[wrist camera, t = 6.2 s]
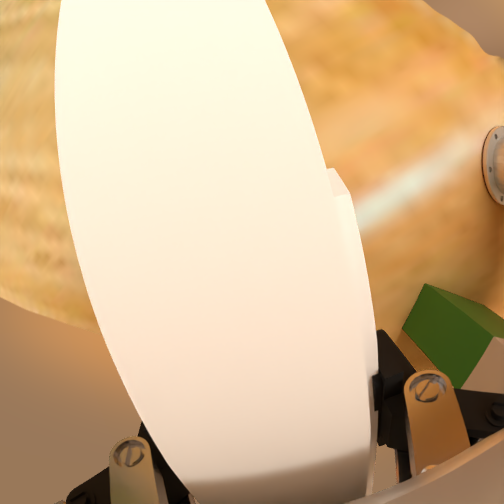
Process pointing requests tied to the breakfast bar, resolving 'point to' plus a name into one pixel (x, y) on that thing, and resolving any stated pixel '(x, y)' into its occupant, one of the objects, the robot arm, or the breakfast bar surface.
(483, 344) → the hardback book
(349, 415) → the cream elongated piece
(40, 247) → the breakfast bar surface
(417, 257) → the breakfast bar surface
